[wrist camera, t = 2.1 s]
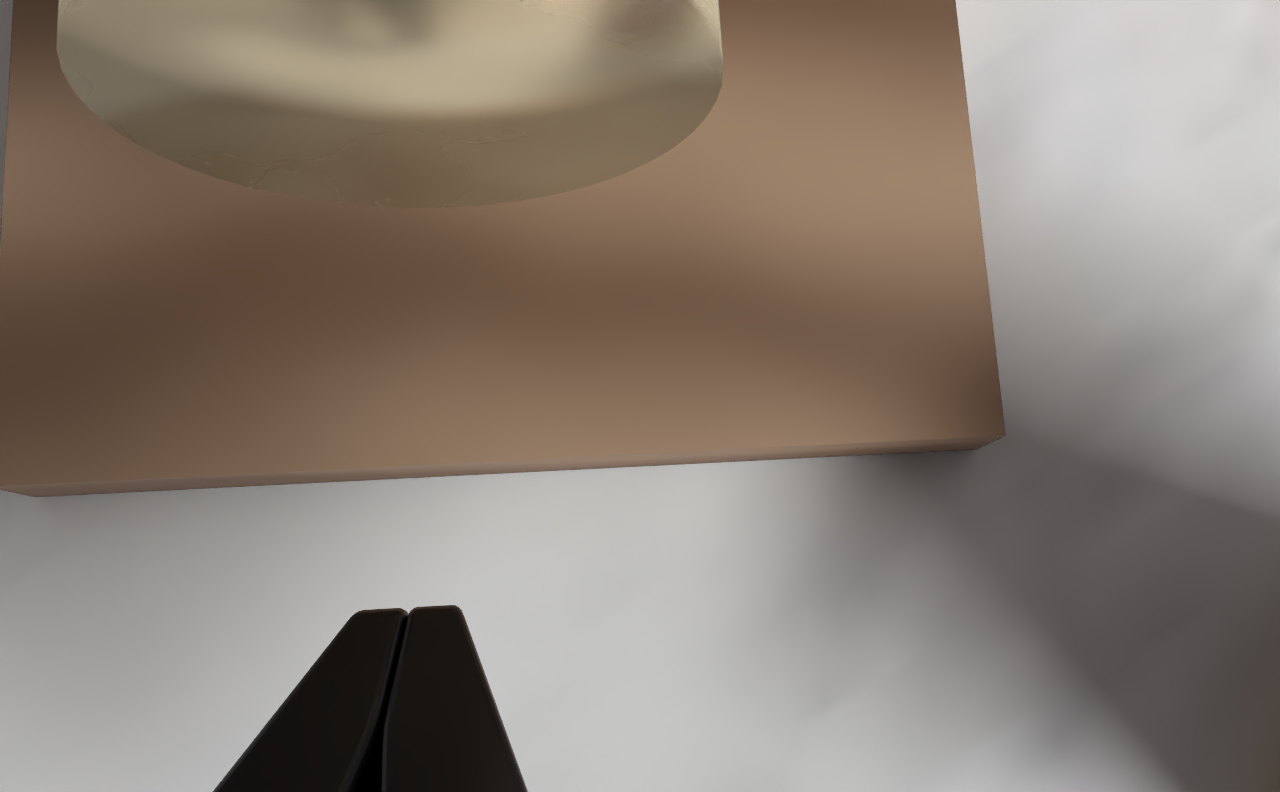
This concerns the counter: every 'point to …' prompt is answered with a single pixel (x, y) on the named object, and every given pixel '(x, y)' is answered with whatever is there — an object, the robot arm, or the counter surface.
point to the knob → (398, 90)
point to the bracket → (512, 289)
